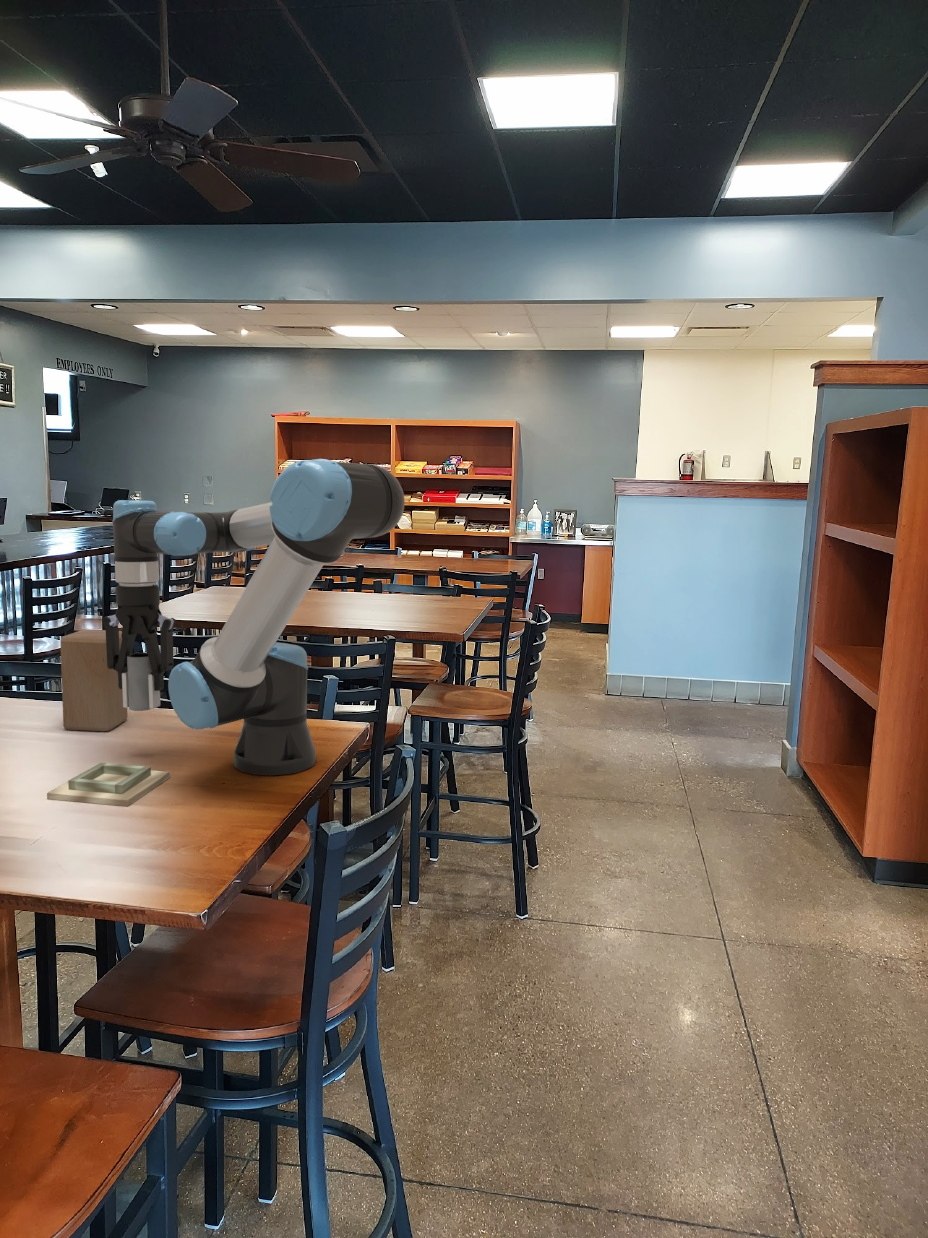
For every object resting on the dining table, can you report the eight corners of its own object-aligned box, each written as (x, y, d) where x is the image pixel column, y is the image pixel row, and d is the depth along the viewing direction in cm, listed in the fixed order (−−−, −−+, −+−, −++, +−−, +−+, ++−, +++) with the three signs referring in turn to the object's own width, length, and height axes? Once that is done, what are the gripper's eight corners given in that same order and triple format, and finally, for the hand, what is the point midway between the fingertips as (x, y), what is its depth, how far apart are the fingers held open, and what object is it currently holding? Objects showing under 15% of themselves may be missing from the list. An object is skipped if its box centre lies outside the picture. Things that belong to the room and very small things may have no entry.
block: (109, 733, 169) (106, 638, 166) (61, 731, 169) (58, 636, 166) (129, 719, 179) (127, 630, 176) (84, 718, 179) (81, 628, 176)
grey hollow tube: (160, 707, 155) (158, 654, 154) (141, 712, 151) (139, 657, 150) (142, 704, 157) (140, 651, 155) (123, 709, 153) (121, 655, 151)
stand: (169, 777, 144) (169, 763, 144) (127, 806, 131) (127, 791, 130) (96, 770, 146) (96, 757, 146) (47, 799, 132) (46, 784, 132)
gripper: (191, 583, 153) (195, 704, 156) (104, 580, 155) (109, 699, 159) (172, 587, 146) (176, 713, 149) (81, 584, 148) (87, 709, 151)
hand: (141, 706), depth 154 cm, fingers closed on grey hollow tube, 4 cm apart
